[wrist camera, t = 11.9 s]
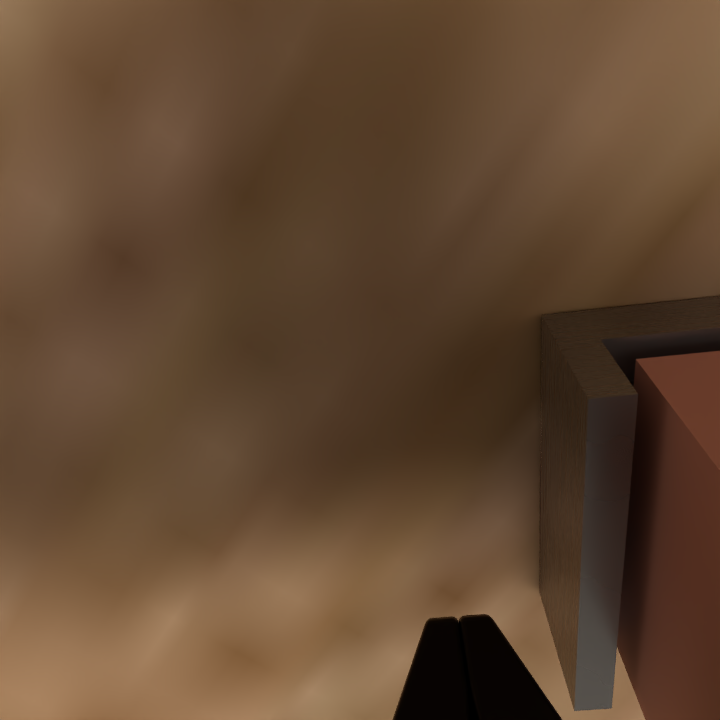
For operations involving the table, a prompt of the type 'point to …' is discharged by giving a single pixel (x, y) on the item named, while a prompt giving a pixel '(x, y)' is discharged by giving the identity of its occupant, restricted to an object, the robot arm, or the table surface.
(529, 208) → the table surface
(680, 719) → the block
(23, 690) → the table surface
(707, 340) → the vise
